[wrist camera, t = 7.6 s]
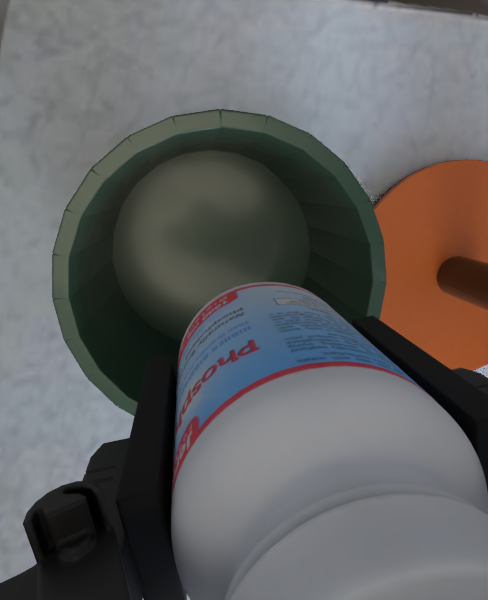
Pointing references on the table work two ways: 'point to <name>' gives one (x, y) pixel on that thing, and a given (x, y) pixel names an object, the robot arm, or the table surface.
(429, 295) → the tin lid
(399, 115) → the table surface
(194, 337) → the pill bottle
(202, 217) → the tin
